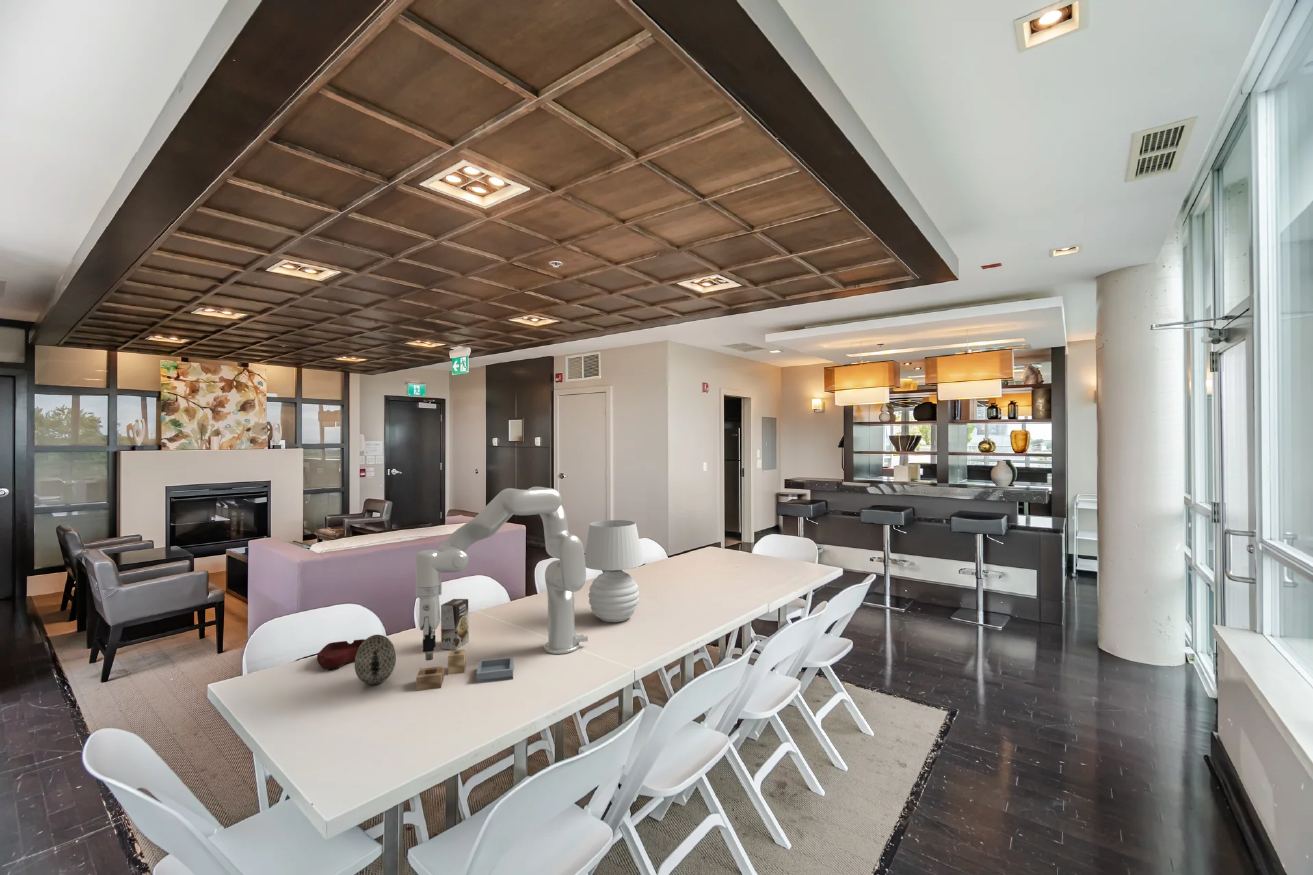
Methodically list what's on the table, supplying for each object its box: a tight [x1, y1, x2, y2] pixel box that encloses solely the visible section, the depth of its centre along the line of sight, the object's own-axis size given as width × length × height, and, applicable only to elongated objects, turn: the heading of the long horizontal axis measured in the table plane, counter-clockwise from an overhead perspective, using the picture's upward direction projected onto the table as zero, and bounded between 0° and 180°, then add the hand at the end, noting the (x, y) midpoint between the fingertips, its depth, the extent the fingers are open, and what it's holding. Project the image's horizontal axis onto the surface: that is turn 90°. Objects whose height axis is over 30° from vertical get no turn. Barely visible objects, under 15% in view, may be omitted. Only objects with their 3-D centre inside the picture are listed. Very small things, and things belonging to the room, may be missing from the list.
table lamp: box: [584, 519, 645, 623], centre depth 241 cm, size 25×25×40 cm
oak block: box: [447, 648, 467, 675], centre depth 189 cm, size 5×5×6 cm
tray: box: [476, 656, 514, 684], centre depth 186 cm, size 11×11×3 cm
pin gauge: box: [424, 627, 434, 661], centre depth 179 cm, size 2×2×10 cm
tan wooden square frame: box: [415, 665, 445, 692], centre depth 179 cm, size 7×7×4 cm
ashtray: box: [316, 638, 366, 671], centre depth 200 cm, size 18×16×5 cm
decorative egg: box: [354, 634, 397, 685], centre depth 181 cm, size 12×12×15 cm
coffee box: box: [440, 598, 470, 651], centre depth 213 cm, size 9×6×16 cm
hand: (429, 649), depth 179 cm, fingers closed on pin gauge, 2 cm apart
